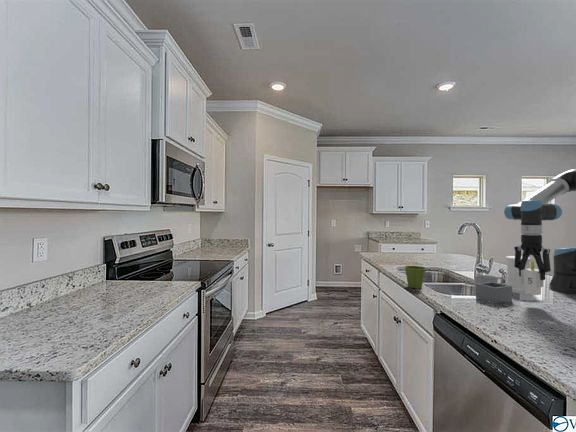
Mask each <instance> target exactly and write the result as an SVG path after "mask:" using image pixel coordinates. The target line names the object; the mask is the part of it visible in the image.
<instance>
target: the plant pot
mask: <svg viewBox="0 0 576 432" xmlns="http://www.w3.org/2000/svg"><path fill="white" fill-rule="evenodd" d="M403 267H404V270H405V271H404V272H405V275H406V279H407V280H406V281H407V287H408V288H411V289H414V288H415V289H416V290H417V289H421V288H422V287H423V283H424V277H425V274H426V270H427V267H424V266H421V265H420V266H419V265H404V266H403Z"/></svg>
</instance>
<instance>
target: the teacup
mask: <svg viewBox="0 0 576 432" xmlns="http://www.w3.org/2000/svg"><path fill="white" fill-rule="evenodd" d="M473 278H474V286H475V287H476V284H478V283H486V282H495V283H498V280H499V279H500V282H499V283H500V284H504V281H505V280H504V278H503V277H502V276H495V275H488V274H487V275H486V274H478V275H477V274H476V275H474V277H473Z"/></svg>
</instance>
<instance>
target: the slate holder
mask: <svg viewBox="0 0 576 432" xmlns="http://www.w3.org/2000/svg"><path fill="white" fill-rule="evenodd" d="M476 298H477V299H476ZM475 299H476V300H479V299H480V300H479V301H483V300H485V301H484V302H487V301H490V302H493V303H492V304H494V303H500V304H503V303H502V302H506V303H510V302H509V301H512V302H513V292H512V286H509V285H507V284H504V283H502V284H500V282H497V283H495V282H486V283H478V284H476V286H475ZM490 302H489V303H490Z"/></svg>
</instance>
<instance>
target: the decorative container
mask: <svg viewBox="0 0 576 432" xmlns="http://www.w3.org/2000/svg"><path fill="white" fill-rule="evenodd" d="M521 259H522V256H521ZM505 260H506V261H507V262H506V269H505V270H506V275H505V276H506V285H509V286H512V293H513V292H515V294H525V295H527V294H526V293H524V292H523V284H521V276H519V269H518V268H515V267H514V264H515V255H508V256H505ZM530 262H532V260H531V257H528V260H527V263H526V265H525V269H530V268H531V264H530Z"/></svg>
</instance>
